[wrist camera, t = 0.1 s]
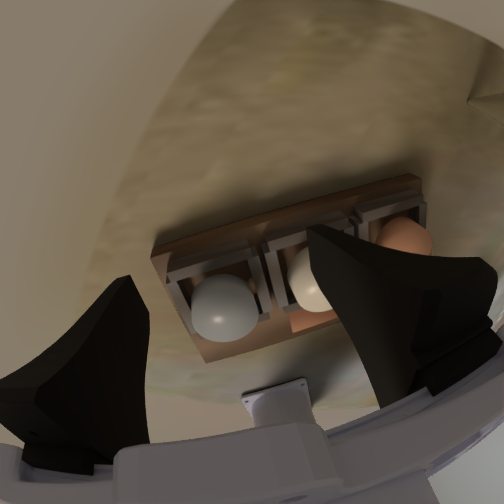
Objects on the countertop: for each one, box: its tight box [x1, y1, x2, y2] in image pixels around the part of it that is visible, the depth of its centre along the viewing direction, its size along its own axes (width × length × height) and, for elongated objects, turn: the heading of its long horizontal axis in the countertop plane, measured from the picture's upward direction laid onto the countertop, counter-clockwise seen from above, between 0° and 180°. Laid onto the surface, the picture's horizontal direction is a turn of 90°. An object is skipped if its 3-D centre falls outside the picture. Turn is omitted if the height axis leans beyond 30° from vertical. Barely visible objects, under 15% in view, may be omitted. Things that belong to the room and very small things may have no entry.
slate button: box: [191, 274, 259, 342], centre depth 20 cm, size 4×4×2 cm
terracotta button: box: [375, 217, 432, 256], centre depth 20 cm, size 4×4×2 cm
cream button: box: [287, 247, 333, 312], centre depth 20 cm, size 4×4×2 cm
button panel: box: [150, 173, 427, 363], centre depth 23 cm, size 12×22×3 cm, turn 104°
